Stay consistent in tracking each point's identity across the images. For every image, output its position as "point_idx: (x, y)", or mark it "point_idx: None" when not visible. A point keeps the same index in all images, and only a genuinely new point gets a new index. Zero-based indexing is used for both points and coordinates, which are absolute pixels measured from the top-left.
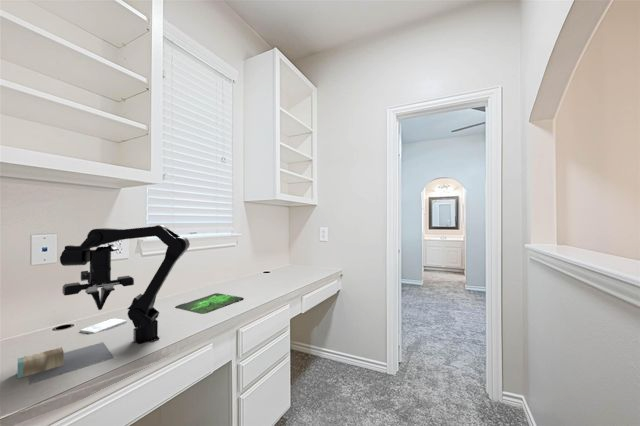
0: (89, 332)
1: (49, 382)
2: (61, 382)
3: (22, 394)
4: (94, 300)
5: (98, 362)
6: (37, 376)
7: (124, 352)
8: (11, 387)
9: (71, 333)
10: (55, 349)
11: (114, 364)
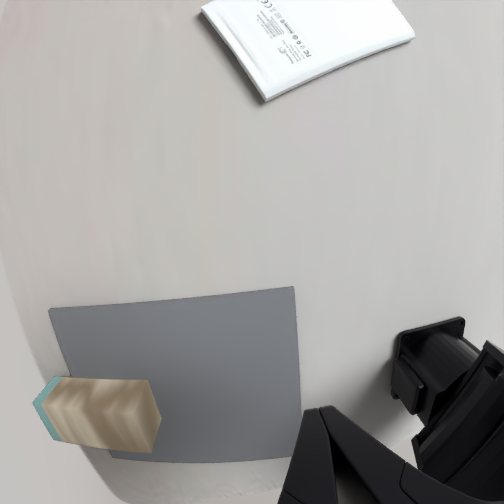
0: (242, 64)
1: (152, 466)
2: (179, 480)
3: (116, 472)
4: (281, 501)
5: (258, 459)
6: None
7: None
8: None
9: (168, 10)
10: (116, 419)
11: None
